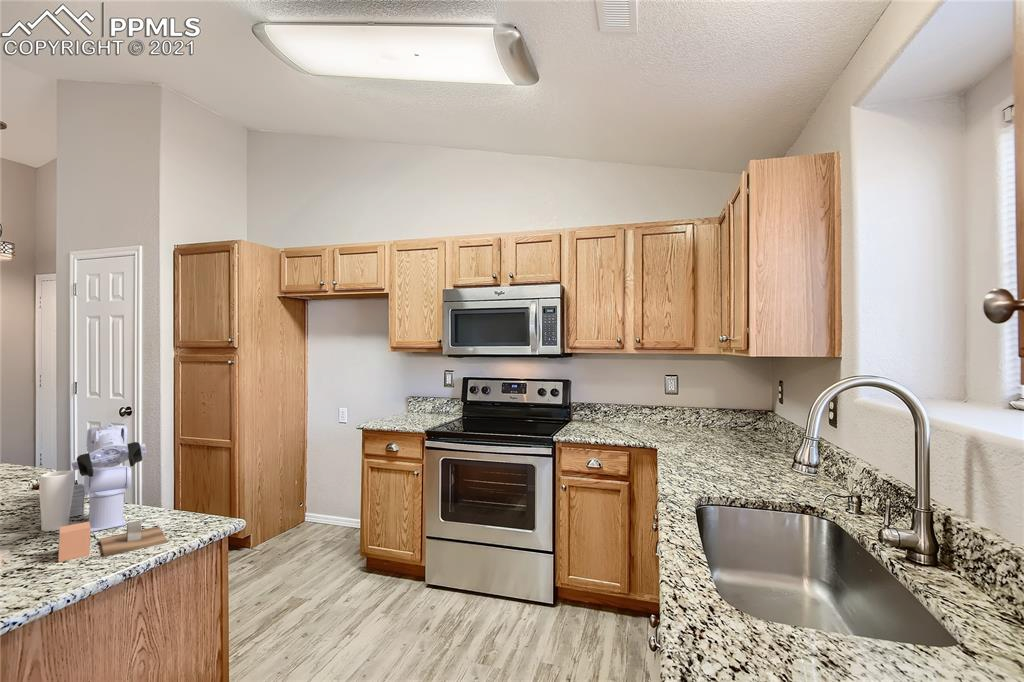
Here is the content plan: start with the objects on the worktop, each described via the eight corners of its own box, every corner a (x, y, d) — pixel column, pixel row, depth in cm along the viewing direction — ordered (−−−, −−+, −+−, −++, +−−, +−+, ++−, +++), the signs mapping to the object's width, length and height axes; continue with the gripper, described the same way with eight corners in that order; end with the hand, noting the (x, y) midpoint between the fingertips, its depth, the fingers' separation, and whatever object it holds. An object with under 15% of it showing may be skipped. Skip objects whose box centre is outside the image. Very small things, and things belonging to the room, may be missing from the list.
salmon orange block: (58, 554, 108) (59, 526, 108) (88, 548, 112) (89, 521, 112) (58, 562, 104) (60, 533, 105) (89, 555, 108) (90, 527, 108)
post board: (100, 541, 116) (100, 522, 116) (158, 529, 124) (159, 511, 125) (104, 556, 107) (104, 536, 108) (166, 542, 116) (167, 523, 116)
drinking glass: (30, 534, 119) (33, 477, 120) (48, 525, 126) (51, 470, 126) (61, 532, 121) (64, 476, 121) (78, 523, 128) (80, 469, 128)
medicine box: (81, 512, 136) (83, 483, 137) (84, 515, 133) (85, 486, 134) (44, 519, 130) (45, 488, 130) (45, 523, 127) (47, 492, 128)
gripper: (69, 444, 117) (67, 462, 107) (141, 428, 126) (145, 444, 116) (75, 469, 118) (73, 489, 108) (146, 452, 127) (150, 469, 118)
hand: (111, 467), depth 112 cm, fingers open, 7 cm apart
